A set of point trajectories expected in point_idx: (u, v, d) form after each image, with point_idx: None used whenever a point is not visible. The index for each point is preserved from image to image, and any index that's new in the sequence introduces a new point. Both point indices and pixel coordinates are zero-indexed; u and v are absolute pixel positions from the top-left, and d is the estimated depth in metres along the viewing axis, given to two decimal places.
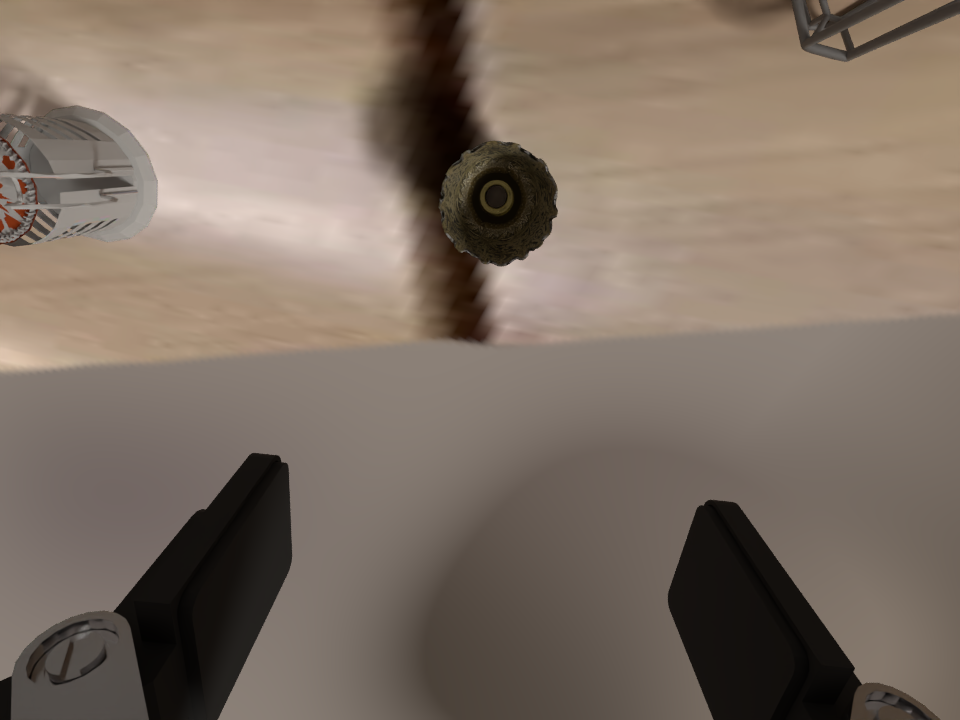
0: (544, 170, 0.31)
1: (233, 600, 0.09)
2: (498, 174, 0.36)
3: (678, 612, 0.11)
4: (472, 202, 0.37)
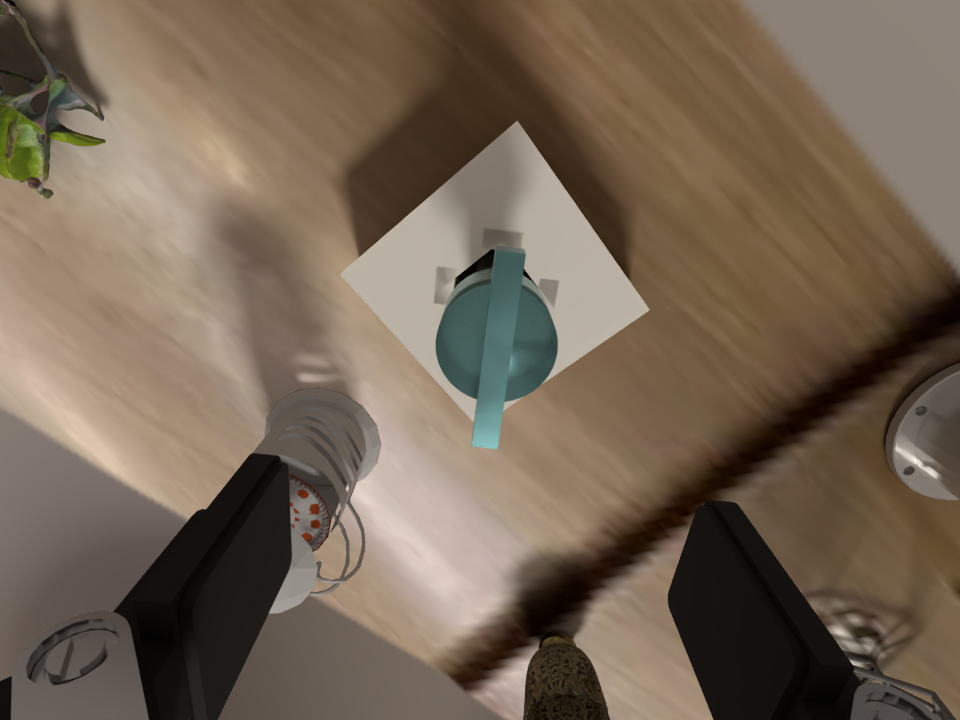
0: None
1: (233, 600, 0.09)
2: None
3: (678, 612, 0.11)
4: None
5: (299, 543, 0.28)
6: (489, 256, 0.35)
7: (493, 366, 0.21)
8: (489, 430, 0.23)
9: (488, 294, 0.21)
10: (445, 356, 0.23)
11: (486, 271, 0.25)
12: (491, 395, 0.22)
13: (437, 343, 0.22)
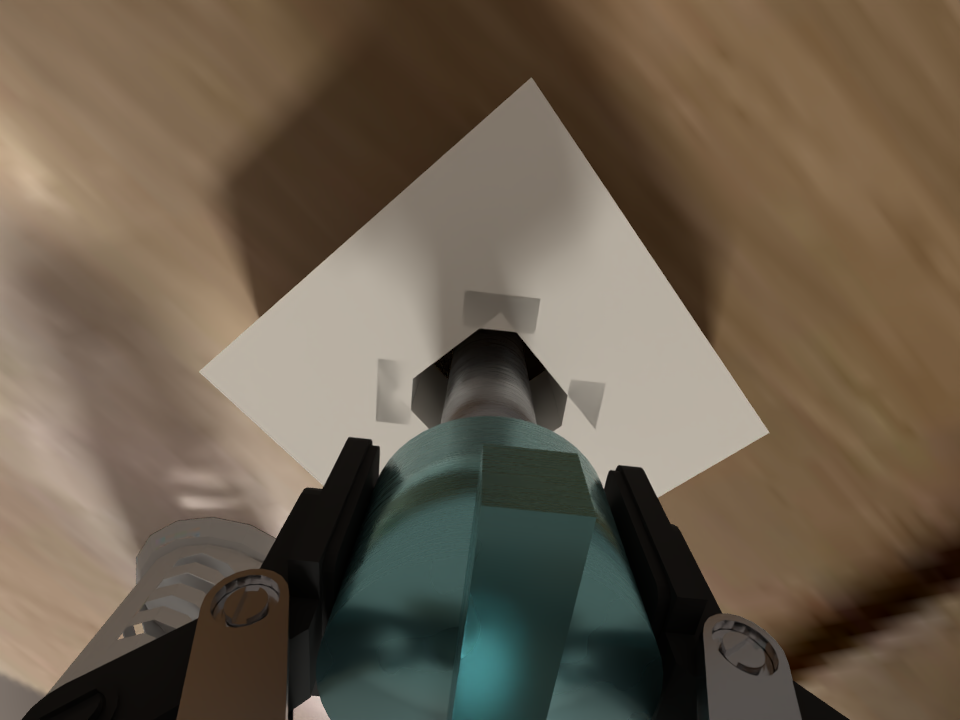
0: None
1: None
2: None
3: None
4: None
5: None
6: None
7: None
8: None
9: (462, 572, 0.07)
10: (347, 704, 0.08)
11: (464, 429, 0.10)
12: None
13: (321, 679, 0.08)
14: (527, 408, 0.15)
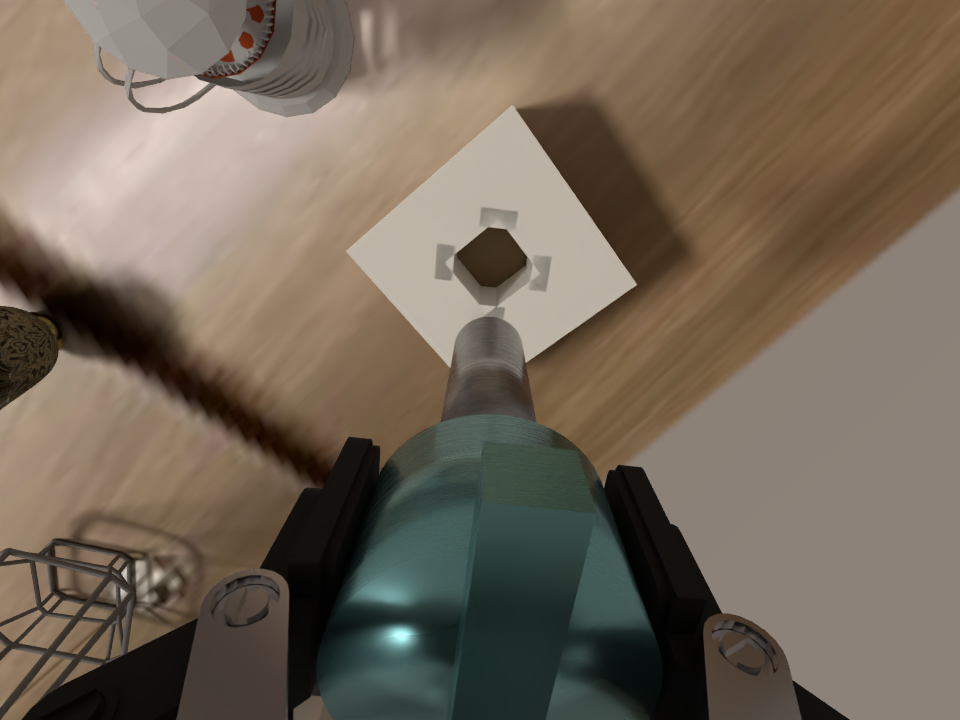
0: None
1: None
2: None
3: None
4: None
5: (205, 58, 0.21)
6: (478, 321, 0.21)
7: None
8: None
9: (463, 569, 0.07)
10: (347, 701, 0.08)
11: (464, 427, 0.10)
12: None
13: (321, 676, 0.08)
14: (527, 407, 0.15)
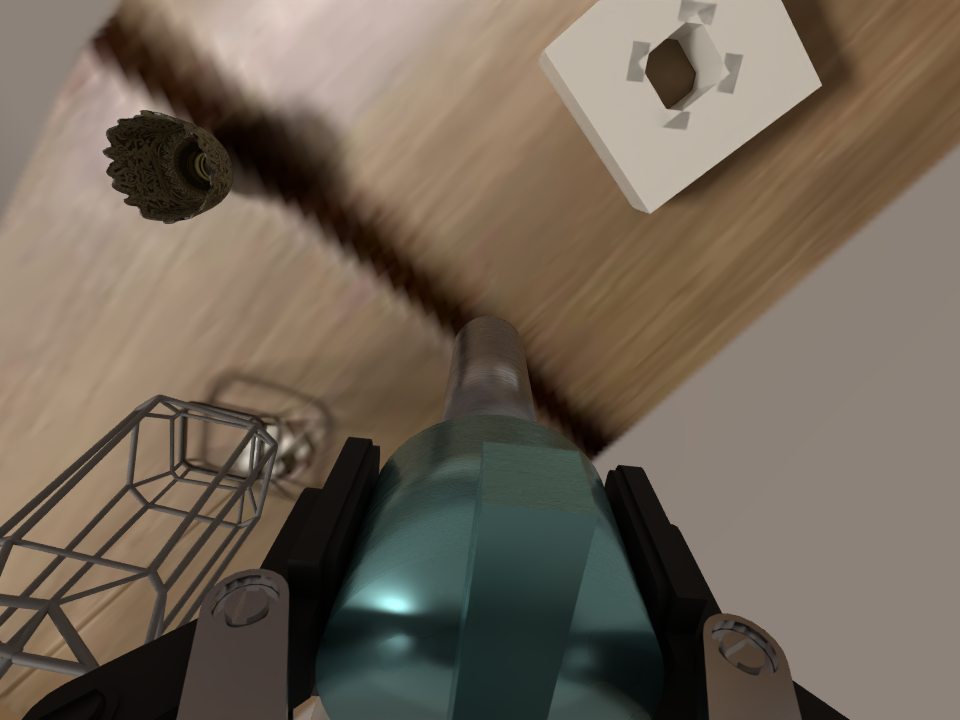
0: (164, 219, 0.37)
1: None
2: None
3: None
4: None
5: None
6: (478, 321, 0.21)
7: None
8: None
9: (463, 570, 0.07)
10: (347, 704, 0.08)
11: (464, 427, 0.10)
12: None
13: (320, 679, 0.08)
14: (527, 407, 0.15)
